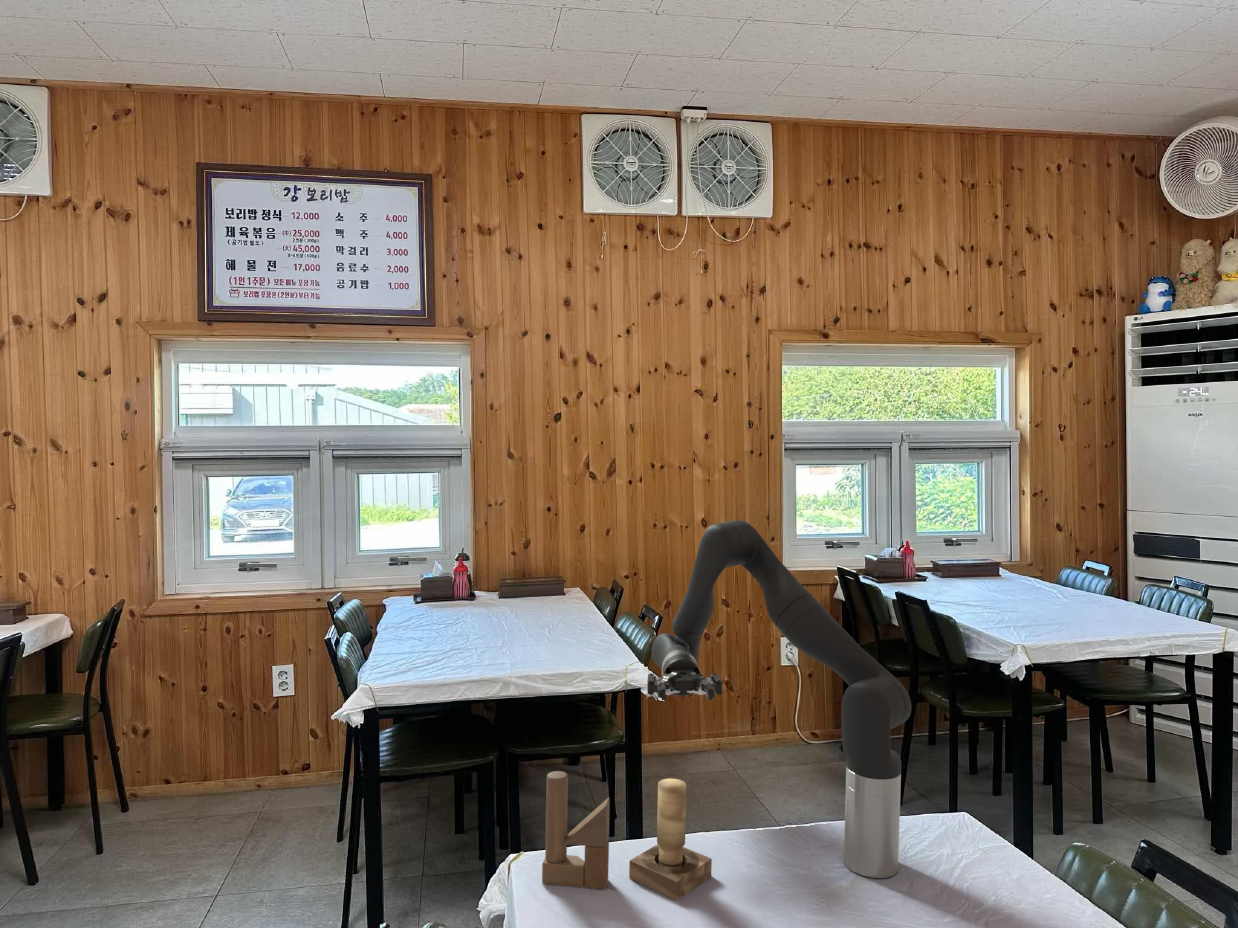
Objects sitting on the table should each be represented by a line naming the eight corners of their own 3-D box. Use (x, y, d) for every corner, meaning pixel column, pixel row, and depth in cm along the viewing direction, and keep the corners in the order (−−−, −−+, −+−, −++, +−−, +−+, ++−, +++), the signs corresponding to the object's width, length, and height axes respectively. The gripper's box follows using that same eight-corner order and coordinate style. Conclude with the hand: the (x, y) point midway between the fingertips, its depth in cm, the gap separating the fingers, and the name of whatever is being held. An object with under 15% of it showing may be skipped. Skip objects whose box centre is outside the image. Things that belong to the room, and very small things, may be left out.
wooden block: (604, 890, 136) (606, 783, 135) (541, 884, 137) (543, 777, 137) (608, 878, 139) (610, 774, 139) (546, 872, 141) (548, 769, 140)
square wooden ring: (664, 855, 147) (665, 839, 147) (711, 875, 141) (711, 858, 141) (629, 877, 140) (629, 860, 140) (676, 899, 133) (677, 881, 133)
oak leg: (667, 865, 144) (669, 775, 143) (690, 875, 141) (691, 783, 140) (650, 876, 140) (652, 784, 140) (673, 887, 137) (675, 792, 136)
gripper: (645, 653, 167) (648, 674, 151) (715, 653, 167) (725, 674, 151) (645, 690, 167) (648, 715, 151) (715, 690, 167) (725, 715, 151)
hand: (687, 694), depth 151 cm, fingers open, 8 cm apart
